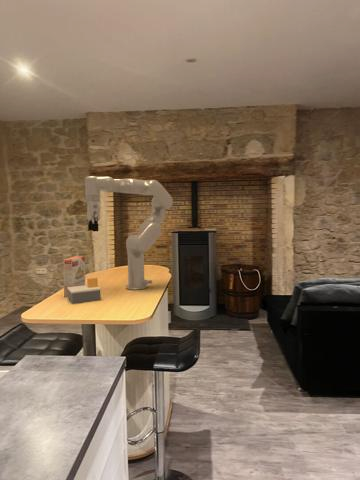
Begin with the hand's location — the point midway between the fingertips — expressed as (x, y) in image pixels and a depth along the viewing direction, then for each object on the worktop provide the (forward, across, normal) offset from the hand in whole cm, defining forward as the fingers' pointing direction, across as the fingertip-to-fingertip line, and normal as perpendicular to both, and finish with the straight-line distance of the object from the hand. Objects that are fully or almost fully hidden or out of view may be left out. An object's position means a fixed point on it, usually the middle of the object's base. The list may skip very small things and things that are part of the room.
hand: (93, 230), depth 193 cm
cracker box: (+36, +2, +10) cm, 37 cm away
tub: (+35, -12, +8) cm, 38 cm away
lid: (+30, -12, +8) cm, 34 cm away
